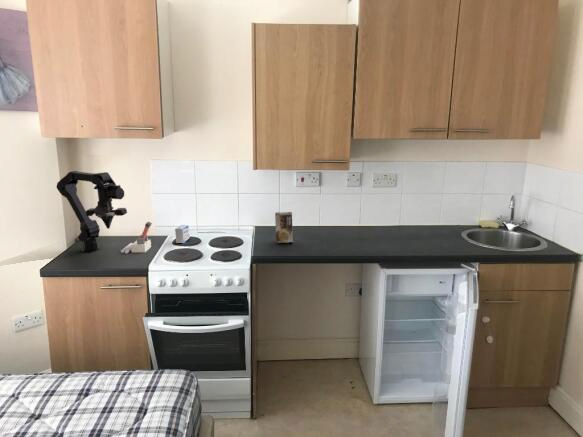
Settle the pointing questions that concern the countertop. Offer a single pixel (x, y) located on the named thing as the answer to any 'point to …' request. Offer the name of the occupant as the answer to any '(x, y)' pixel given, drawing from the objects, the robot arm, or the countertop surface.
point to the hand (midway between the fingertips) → (108, 228)
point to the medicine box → (182, 234)
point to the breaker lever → (146, 230)
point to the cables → (126, 249)
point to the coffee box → (284, 227)
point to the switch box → (141, 244)
